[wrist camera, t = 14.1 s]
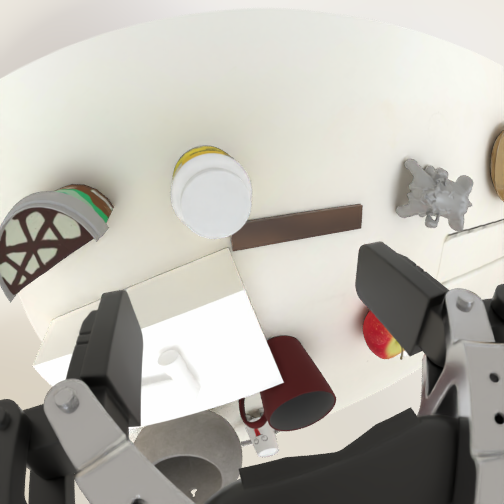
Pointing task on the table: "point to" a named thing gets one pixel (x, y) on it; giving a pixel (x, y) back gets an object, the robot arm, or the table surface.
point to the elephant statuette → (436, 196)
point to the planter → (194, 452)
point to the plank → (297, 226)
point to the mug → (293, 390)
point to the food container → (48, 232)
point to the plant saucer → (498, 165)
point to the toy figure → (262, 438)
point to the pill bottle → (211, 192)
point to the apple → (380, 338)
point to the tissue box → (183, 340)
